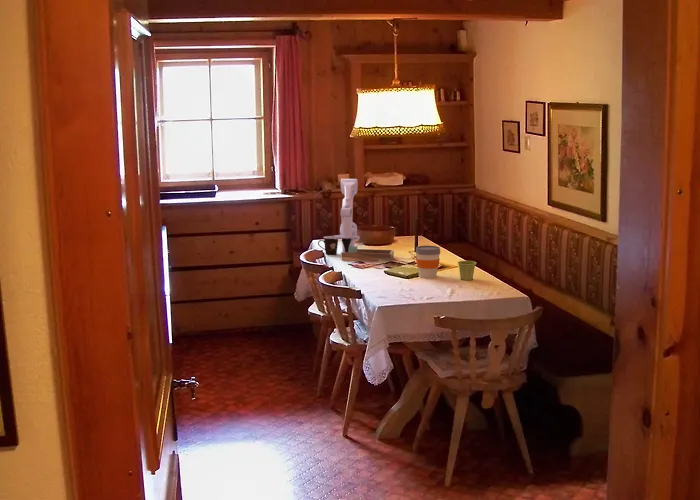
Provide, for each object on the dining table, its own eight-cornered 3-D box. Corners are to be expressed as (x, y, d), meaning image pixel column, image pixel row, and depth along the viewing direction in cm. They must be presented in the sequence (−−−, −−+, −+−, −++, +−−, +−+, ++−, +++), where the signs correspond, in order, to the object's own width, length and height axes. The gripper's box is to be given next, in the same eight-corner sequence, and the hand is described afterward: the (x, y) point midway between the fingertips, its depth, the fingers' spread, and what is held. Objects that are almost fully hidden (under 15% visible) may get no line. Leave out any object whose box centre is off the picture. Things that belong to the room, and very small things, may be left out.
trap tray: (345, 256, 494) (345, 248, 493) (393, 257, 489) (393, 250, 488) (341, 260, 481) (341, 252, 480) (391, 261, 477) (391, 254, 476)
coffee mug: (339, 252, 504) (339, 236, 503) (337, 255, 496) (337, 238, 494) (319, 252, 506) (319, 235, 504) (317, 255, 497) (317, 238, 495)
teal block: (349, 253, 491) (349, 245, 490) (357, 253, 491) (357, 246, 490) (348, 254, 487) (348, 247, 486) (356, 255, 486) (356, 247, 485)
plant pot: (477, 281, 427) (478, 264, 426) (459, 281, 426) (459, 264, 425) (473, 277, 436) (474, 260, 435) (455, 277, 436) (455, 260, 434)
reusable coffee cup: (443, 278, 434) (444, 249, 432) (420, 279, 431) (421, 250, 428) (434, 273, 446) (434, 245, 443) (411, 274, 443) (412, 246, 440)
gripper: (332, 229, 484) (333, 252, 486) (358, 229, 482) (358, 253, 484) (335, 227, 491) (335, 250, 493) (360, 227, 488) (360, 251, 491)
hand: (346, 251), depth 489 cm, fingers closed
